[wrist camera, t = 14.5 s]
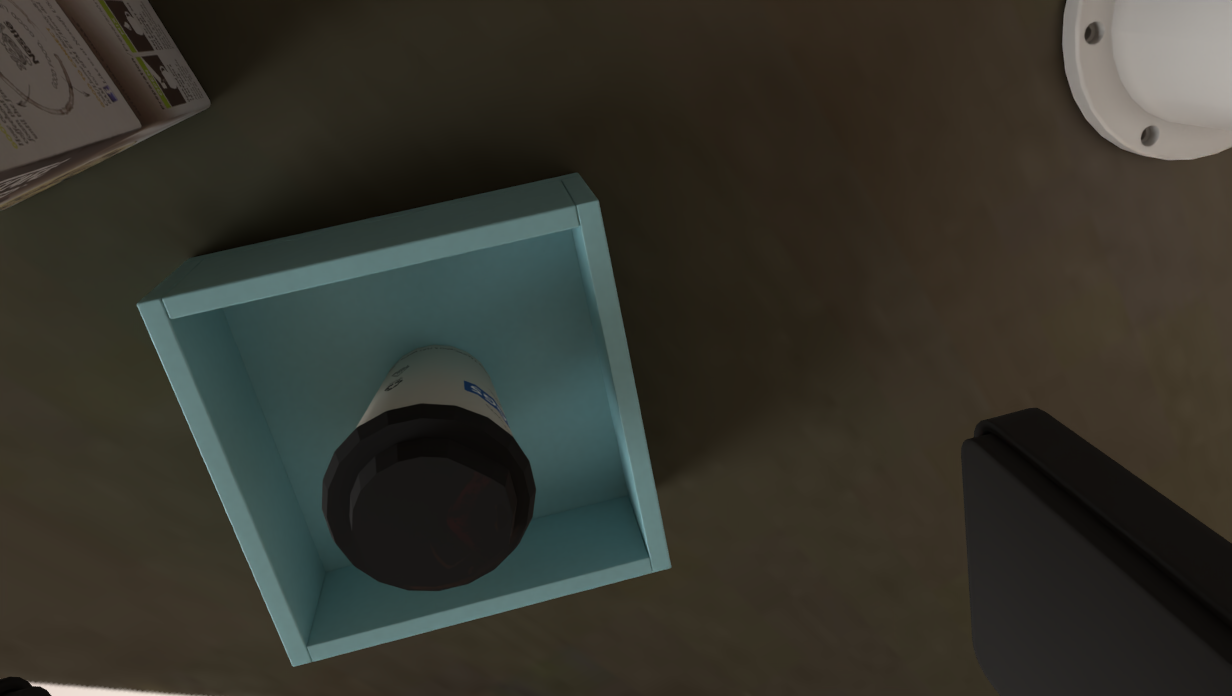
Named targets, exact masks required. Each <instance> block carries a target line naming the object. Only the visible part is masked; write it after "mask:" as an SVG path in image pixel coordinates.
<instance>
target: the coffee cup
mask: <svg viewBox="0 0 1232 696" xmlns="http://www.w3.org/2000/svg"><path fill="white" fill-rule="evenodd" d="M535 495H536V486H535V482H534V478H533V473H532V469H531V465H530V461H529V460H528V458H527V457H526V455H525V454H524V452H523V451H522V449H521V448H520V446H519V445H518V443H517V442H516V440H515V439H514V437H513V435H512V432H511V430H510V427H509V424H508V422H507V419H506V417H505V414H504V412H503V409H502V406H501V404H500V401H499V399H498V396H497V394H496V391H495V388H494V386H493V383H492V381H491V378H490V376H489V374H488V373H487V371H486V370H485V368H484V367H483V365H482V364H481V362H479V361H478V360H477V359H476V358H474V357H473V356H472V355H471V354H469V353H468V352H466V351H463V350H461V349H458V348H455V347H453V346H444V345H430V346H426V347H421V348H417V349H415V350H413V351H411V352H410V353H408V354H406V355H404V356H402V357H401V358H400V359H399V360H398V362H397V363H396V364H395V365H394V366H393V367H392V368H391V369H390V371H389V373H388V374H387V376H386V378H385V379H384V381H383V383H382V385H381V386H380V388H379V390H378V391H377V393H376V395H375V396H374V398H373V400H372V402H371V403H370V405H369V407H368V408H367V410H366V412H365V414H364V415H363V417H362V419H361V420H360V422H359V424H358V425H357V427H356V429H355V430H354V431H353V432H352V433H351V434H350V435H349V436H348V437H347V438H346V440H345V441H344V442H343V443H342V444H341V445H340V446H339V447H338V448H337V449H336V450H335V452H334V454H333V456H332V459H331V461H330V463H329V466H328V468H327V470H326V473H325V475H324V477H323V483H322V511H323V514H324V517H325V520H326V523H327V526H328V528H329V531H330V534H331V537H332V539H333V540H334V542H335V543H336V545H337V546H338V547H339V549H340V550H341V551H342V552H343V553H344V555H345V556H346V557H347V558H348V559H349V561H350V562H351V563H352V564H353V565H354V566H355V567H356V568H358V569H359V570H361V571H362V572H364V573H366V574H367V575H369V576H370V577H372V578H373V579H375V580H377V581H378V582H381V583H384V584H387V585H391V586H394V587H398V588H401V589H405V590H408V591H442V590H446V589H450V588H454V587H458V586H462V585H466V584H469V583H471V582H473V581H475V580H477V579H479V578H480V577H482V576H484V575H486V574H488V573H489V572H491V571H493V570H495V569H496V568H497V567H498V566H499V565H500V564H501V563H502V562H503V561H504V560H505V559H506V558H507V557H508V556H509V555H510V554H511V553H512V552H513V551H514V550H515V548H516V547H517V546H518V544H519V543H520V541H521V539H522V537H523V535H524V533H525V531H526V529H527V527H528V525H529V523H530V522H531V520H532V518H533V511H534V503H535Z"/></svg>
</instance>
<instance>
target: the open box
mask: <svg viewBox="0 0 1232 696" xmlns="http://www.w3.org/2000/svg"><path fill="white" fill-rule="evenodd" d="M137 306H138V309H139V311H140V313H141V316H142V318H143V320H144V323H145V325H146V327H147V330H148V332H149V334H150V337H151V339H152V341H153V343H154V346H155V348H156V350H157V353H158V355H159V357H160V360H161V362H162V364H163V367H164V369H165V371H166V374H167V376H168V378H169V381H170V383H171V385H172V387H173V390H174V392H175V394H176V397H177V399H178V401H179V404H180V406H181V408H182V411H183V413H184V415H185V418H186V420H187V422H188V425H189V427H190V429H191V432H192V434H193V436H194V438H195V441H196V443H197V445H198V448H199V450H200V452H201V455H202V457H203V459H204V462H205V464H206V466H207V469H208V471H209V473H210V476H211V478H212V480H213V483H214V485H215V487H216V489H217V492H218V494H219V496H220V499H221V501H222V503H223V506H224V508H225V510H226V513H227V515H228V517H229V520H230V522H231V524H232V527H233V529H234V531H235V534H236V536H237V538H238V540H239V543H240V545H241V547H242V550H243V552H244V554H245V557H246V559H247V561H248V564H249V566H250V568H251V571H252V573H253V575H254V578H255V580H256V582H257V585H258V587H259V589H260V591H261V594H262V596H263V598H264V601H265V603H266V605H267V608H268V610H269V612H270V615H271V617H272V619H273V622H274V624H275V626H276V629H277V631H278V633H279V636H280V638H281V640H282V642H283V645H284V647H285V649H286V652H287V654H288V656H289V659H290V661H291V663H292V666H293V667H295V666H298V665H302V664H306V663H310V662H312V660H313V661H318V660H322V659H326V658H329V657H333V656H337V655H341V654H345V653H348V652H352V651H356V650H360V649H364V648H367V647H371V646H375V645H379V644H383V643H386V642H390V641H394V640H398V639H402V638H406V637H409V636H413V635H417V634H421V633H425V632H428V631H432V630H436V629H440V628H444V627H447V626H451V625H455V624H459V623H463V622H466V621H470V620H474V619H478V618H482V617H485V616H489V615H493V614H497V613H501V612H505V611H508V610H512V609H516V608H520V607H524V606H527V605H531V604H535V603H539V602H543V601H546V600H550V599H554V598H558V597H562V596H565V595H569V594H573V593H577V592H581V591H585V590H588V589H592V588H596V587H600V586H604V585H607V584H611V583H615V582H619V581H623V580H626V579H630V578H634V577H638V576H642V575H645V574H649V573H652V571H653V572H657V571H661V570H665V569H669V568H671V563H670V558H669V552H668V547H667V542H666V537H665V532H664V527H663V522H662V517H661V512H660V507H659V502H658V497H657V492H656V487H655V482H654V477H653V472H652V467H651V462H650V457H649V452H648V446H647V441H646V436H645V431H644V426H643V421H642V416H641V411H640V406H639V401H638V396H637V391H636V386H635V381H634V376H633V371H632V366H631V361H630V356H629V351H628V346H627V340H626V335H625V330H624V325H623V320H622V315H621V310H620V305H619V300H618V295H617V290H616V285H615V280H614V275H613V270H612V265H611V260H610V255H609V250H608V245H607V239H606V234H605V229H604V224H603V219H602V214H601V209H600V204H599V200H598V199H597V198H596V196H595V195H594V194H593V192H592V191H591V189H590V188H589V187H588V185H587V184H586V183H585V181H584V180H583V179H582V177H581V176H580V175H579V173H572V174H568V175H563V176H559V177H554V178H550V179H545V180H541V181H536V182H532V183H527V184H523V185H518V186H514V187H509V188H505V189H500V190H495V191H491V192H486V193H482V194H477V195H473V196H468V197H464V198H459V199H455V200H450V201H446V202H441V203H437V204H432V205H428V206H423V207H419V208H414V209H410V210H405V211H401V212H396V213H391V214H387V215H382V216H378V217H373V218H369V219H364V220H360V221H355V222H351V223H346V224H342V225H337V226H333V227H328V228H324V229H319V230H315V231H310V232H306V233H301V234H296V235H292V236H287V237H283V238H278V239H274V240H269V241H265V242H260V243H256V244H251V245H247V246H242V247H238V248H233V249H229V250H224V251H220V252H215V253H211V254H206V255H202V256H197V257H192V258H189V259H188V260H187V261H186V262H184V263H183V264H182V265H181V266H180V267H179V268H178V269H177V270H175V271H174V272H173V273H172V274H171V275H170V276H168V277H167V278H166V279H165V280H164V281H163V282H161V283H160V284H159V285H158V286H157V287H155V288H154V289H153V290H152V291H151V292H150V293H148V294H147V295H146V296H145V297H144V298H143V299H141V300H140V301H139V302H138V303H137ZM430 345H444V346H453V347H455V348H458V349H461V350H463V351H466V352H468V353H469V354H471V355H472V356H473V357H474V358H476V359H477V360H478V361H479V362H481V364H482V365H483V367H484V368H485V370H486V371H487V373H488V374H489V376H490V378H491V381H492V383H493V386H494V388H495V391H496V394H497V396H498V399H499V401H500V404H501V406H502V409H503V412H504V414H505V417H506V419H507V422H508V424H509V427H510V430H511V432H512V435H513V437H514V439H515V440H516V442H517V443H518V445H519V446H520V448H521V449H522V451H523V452H524V454H525V455H526V457H527V458H528V460H529V461H530V465H531V469H532V473H533V478H534V482H535V486H536V495H535V503H534V511H533V518H532V520H531V522H530V523H529V525H528V527H527V529H526V531H525V533H524V535H523V537H522V539H521V541H520V543H519V544H518V546H517V547H516V548H515V550H514V551H513V552H512V553H511V554H510V555H509V556H508V557H507V558H506V559H505V560H504V561H503V562H502V563H501V564H500V565H499V566H498V567H497V568H496V569H495V570H493V571H491V572H489V573H488V574H486V575H484V576H482V577H480V578H479V579H477V580H475V581H473V582H471V583H469V584H466V585H462V586H458V587H454V588H450V589H446V590H442V591H408V590H405V589H401V588H398V587H394V586H391V585H387V584H384V583H381V582H378V581H377V580H375V579H373V578H372V577H370V576H369V575H367V574H366V573H364V572H362V571H361V570H359V569H358V568H356V567H355V566H354V565H353V564H352V563H351V562H350V561H349V559H348V558H347V557H346V556H345V555H344V553H343V552H342V551H341V550H340V549H339V547H338V546H337V545H336V543H335V542H334V540H333V539H332V537H331V534H330V531H329V528H328V526H327V523H326V520H325V517H324V514H323V511H322V483H323V477H324V475H325V473H326V470H327V468H328V466H329V463H330V461H331V459H332V456H333V454H334V452H335V450H336V449H337V448H338V447H339V446H340V445H341V444H342V443H343V442H344V441H345V440H346V438H347V437H348V436H349V435H350V434H351V433H352V432H353V431H354V430H355V429H356V427H357V425H358V424H359V422H360V420H361V419H362V417H363V415H364V414H365V412H366V410H367V408H368V407H369V405H370V403H371V402H372V400H373V398H374V396H375V395H376V393H377V391H378V390H379V388H380V386H381V385H382V383H383V381H384V379H385V378H386V376H387V374H388V373H389V371H390V369H391V368H392V367H393V366H394V365H395V364H396V363H397V362H398V360H399V359H400V358H401V357H402V356H404V355H406V354H408V353H410V352H411V351H413V350H415V349H417V348H421V347H426V346H430Z"/></svg>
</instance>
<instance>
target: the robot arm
mask: <svg viewBox="0 0 1232 696" xmlns="http://www.w3.org/2000/svg"><path fill="white" fill-rule="evenodd" d="M1062 47H1063V56H1064V65H1065V73H1066V76H1067V79H1068V82H1069V85H1070V88H1071V92H1072V95H1073V98H1074V100H1075V101H1076V103H1077V105H1078V107H1079V108H1080V110H1081V112H1082V114H1083V115H1084V117H1085V119H1086V120H1087V121H1088V122H1089V123H1090V124H1091V125H1092V126H1093V128H1094V129H1095V130H1096V131H1097V132H1098V133H1099V134H1100V135H1101V136H1102V137H1104V138H1105V139H1107V140H1108V141H1110V142H1111V143H1113V144H1114V145H1116V146H1118V147H1119V148H1121V149H1123V150H1126V151H1129V152H1132V153H1135V154H1138V155H1141V156H1147V157H1153V158H1159V159H1164V160H1192V159H1196V158H1200V157H1204V156H1209V155H1213V154H1217V153H1219V152H1221V151H1224V150H1226V149H1228V148H1231V147H1232V0H1067V1H1066V6H1065V10H1064V19H1063V37H1062ZM961 459H962V475H963V492H964V508H965V525H966V541H967V558H968V574H969V591H970V607H971V624H972V640H973V647H974V650H975V654H976V657H977V659H978V662H979V664H980V666H981V668H982V670H983V672H984V674H985V675H986V677H987V679H988V680H989V681H990V683H991V684H992V685H993V687H994V688H995V689H996V691H997V692H998V693H999V695H1000V696H1232V544H1231V543H1230V542H1229V541H1227V540H1226V539H1224V538H1223V537H1221V536H1220V535H1219V534H1217V533H1216V532H1214V531H1213V530H1212V529H1210V528H1209V527H1207V526H1206V525H1205V524H1203V523H1202V522H1200V521H1199V520H1197V519H1196V518H1195V517H1193V516H1192V515H1190V514H1189V513H1188V512H1186V511H1185V510H1183V509H1182V508H1180V507H1179V506H1178V505H1176V504H1175V503H1173V502H1172V501H1171V500H1169V499H1168V498H1166V497H1165V496H1164V495H1162V494H1161V493H1159V492H1158V491H1156V490H1155V489H1154V488H1152V487H1151V486H1149V485H1148V484H1147V483H1145V482H1144V481H1142V480H1141V479H1139V478H1138V477H1137V476H1135V475H1134V474H1132V473H1131V472H1130V471H1128V470H1127V469H1125V468H1124V467H1123V466H1121V465H1120V464H1118V463H1117V462H1115V461H1114V460H1113V459H1111V458H1110V457H1108V456H1107V455H1106V454H1104V453H1103V452H1101V451H1100V450H1098V449H1097V448H1096V447H1094V446H1093V445H1091V444H1090V443H1089V442H1087V441H1086V440H1084V439H1083V438H1081V437H1080V436H1079V435H1077V434H1076V433H1074V432H1073V431H1072V430H1070V429H1069V428H1067V427H1066V426H1065V425H1063V424H1062V423H1060V422H1059V421H1057V420H1056V419H1055V418H1053V417H1052V416H1050V415H1049V414H1048V413H1046V412H1045V411H1043V410H1040V409H1038V408H1029V409H1025V410H1021V411H1017V412H1013V413H1010V414H1006V415H1002V416H998V417H994V418H991V419H987V420H983V421H981V422H980V423H978V424H977V426H976V428H975V431H974V438H971V439H967V440H966V441H964V442H963V445H962V449H961ZM0 696H51V695H50V694H49V692H48V691H47V690H45V689H44V688H42V687H36V686H33V687H32V686H31V684H30V683H29V682H28V681H26V680H24V679H22V678H20V677H7V678H3V679H0Z"/></svg>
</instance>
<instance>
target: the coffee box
mask: <svg viewBox="0 0 1232 696" xmlns="http://www.w3.org/2000/svg"><path fill="white" fill-rule="evenodd" d="M210 105H211V102H210V100H209V98H208V96H207V95H206V93H205V92H204V90H203V88H202V87H201V85H200V83H199V82H198V80H197V78H196V77H195V75H194V74H193V72H192V70H191V69H190V67H189V66H188V64H187V63H186V61H185V59H184V58H183V56H182V54H181V53H180V51H179V50H178V48H177V46H176V45H175V43H174V41H173V40H172V38H171V37H170V35H169V34H168V32H167V30H166V29H165V27H164V26H163V24H162V22H161V21H160V19H159V18H158V16H157V14H156V13H155V11H154V10H153V8H152V6H151V5H150V3H149V2H148V0H0V211H1V210H4V209H6V208H8V207H11V206H13V205H15V204H17V203H19V202H21V201H23V200H25V199H27V198H29V197H31V196H33V195H35V194H37V193H39V192H41V191H43V190H45V189H48V188H49V187H51V186H53V185H55V184H57V183H59V182H61V181H63V180H66V179H67V178H69V177H71V176H73V175H76V174H78V173H80V172H81V171H83V170H85V169H87V168H89V167H91V166H93V165H96V164H98V163H100V162H102V161H103V160H105V159H107V158H109V157H111V156H113V155H115V154H117V153H119V152H121V151H123V150H125V149H127V148H129V147H131V146H133V145H135V144H137V143H139V142H141V141H143V140H145V139H147V138H149V137H151V136H153V135H155V134H157V133H159V132H161V131H163V130H165V129H167V128H169V127H171V126H173V125H175V124H177V123H179V122H181V121H183V120H185V119H187V118H189V117H191V116H193V115H195V114H197V113H199V112H201V111H203V110H205V109H207V108H209V107H210Z"/></svg>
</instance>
